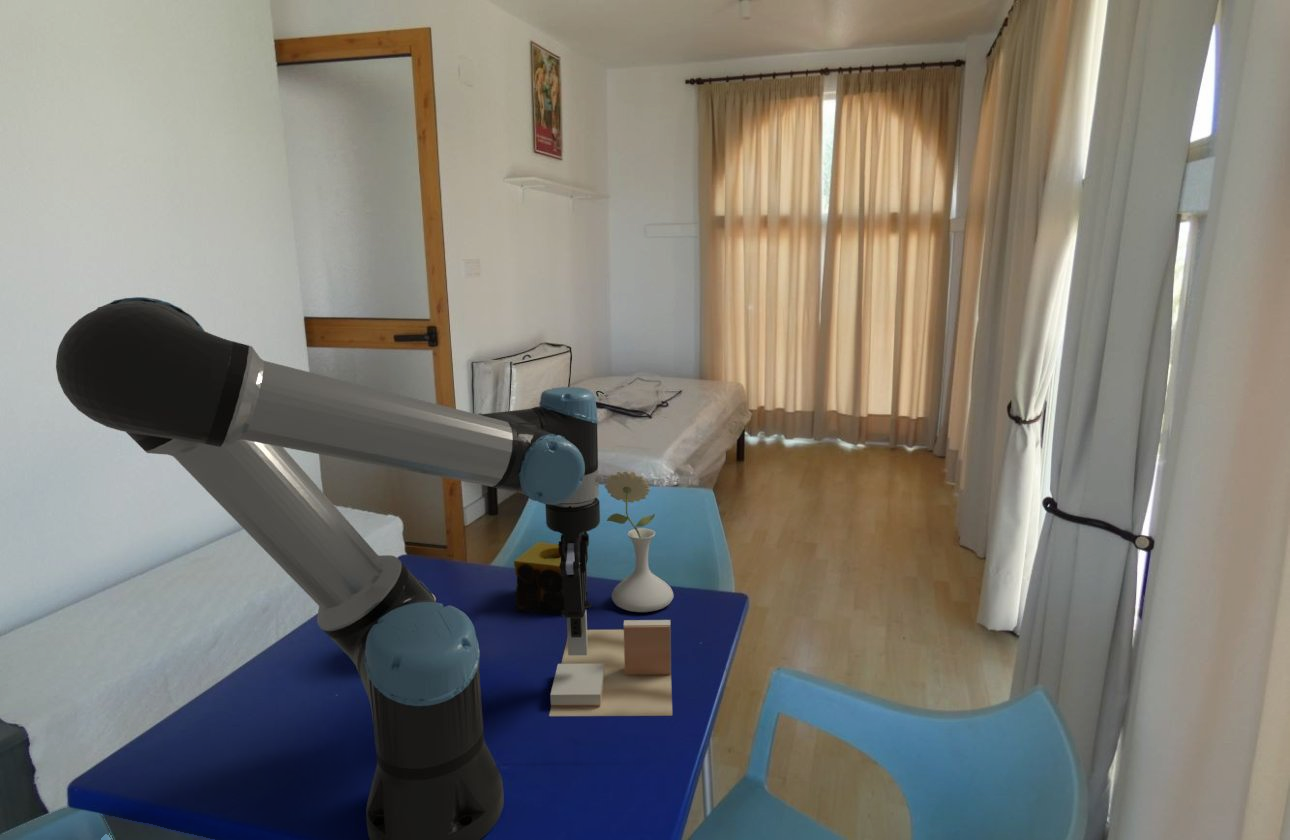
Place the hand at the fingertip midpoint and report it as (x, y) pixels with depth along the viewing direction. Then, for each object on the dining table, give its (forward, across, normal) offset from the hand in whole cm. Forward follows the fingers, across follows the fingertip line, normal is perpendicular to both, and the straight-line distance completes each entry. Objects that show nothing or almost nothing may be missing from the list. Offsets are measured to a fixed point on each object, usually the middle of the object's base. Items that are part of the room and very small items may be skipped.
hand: (578, 652), depth 107 cm
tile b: (+5, +3, -10) cm, 12 cm away
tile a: (+4, +2, 0) cm, 5 cm away
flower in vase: (+6, +27, -8) cm, 29 cm away
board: (+6, +4, -5) cm, 9 cm away
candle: (+6, +28, +8) cm, 29 cm away
